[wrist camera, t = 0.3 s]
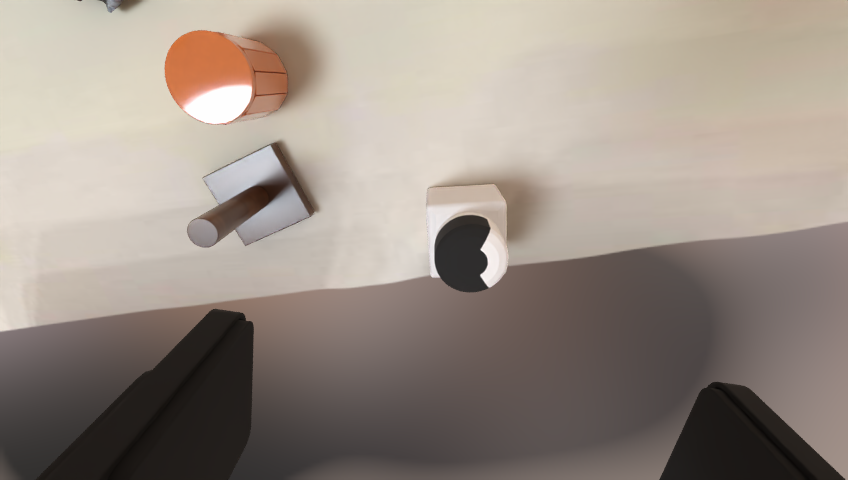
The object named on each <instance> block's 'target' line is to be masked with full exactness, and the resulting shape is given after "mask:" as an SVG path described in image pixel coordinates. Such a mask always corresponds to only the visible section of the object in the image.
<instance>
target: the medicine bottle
mask: <svg viewBox="0 0 848 480" xmlns="http://www.w3.org/2000/svg"><path fill="white" fill-rule="evenodd" d="M426 217H427V232H428V247H429V262H430V275H431V276H432V277H433V278H441V279H442V280H443V281H444V282H445V283H446V284H447V285H448V286H450V287H452V288H454V289H456V290H459V291H463V292H478V291H482V290H485V289H488V288H490V287H491V286H493V285H494V284H495V283H497V282H498V281H499V280H500V279H501V277H502V276H503V275H504V274H505V273H506V270H507V266H508V260H509V255H508V249H507V204H506V201H505V200H504V198H503V196H502V195H501V193H500V191H499V190H498V188H497V187H496V185H495V184H485V185H468V186H451V187H435V188H428V189H427V198H426Z"/></svg>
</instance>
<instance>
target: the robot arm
mask: <svg viewBox="0 0 848 480" xmlns="http://www.w3.org/2000/svg"><path fill="white" fill-rule="evenodd" d="M253 334H254V327H253V323H252V322H251V321H246V318H245V315H244V314H243V313H240V312H233V311H226V310H218V309H213V310H211V311H210V312H209V313H208V314H207V315H206V316H205V317H204V318H203V319H202V320H201V321H200V322H199V323H198V324H197V325H196V326H195V327H194V328H193V329H192V330H191V331H190V332H189V333H188V334H187V336H185V337H184V338H183V339H182V340H181V341H180V342H179V343H178V344H177V345H176V346H175V348H174V349H173V350H172V351H171V352H170V353H169V354H168V355H167V356H166V357H165V358H164V359H163V360H162V361H161V362H160V363H159V364H158V365H157V366H156V367H155V368H154V369H153V370H150V371H147V372H145V373H144V374H142V375H141V376H140V377H139V378H137V379H136V380H135V381H134V382H133V384H132V385H130V386H129V388H127V389H126V390H125V391H124V392H123V393H122V394H121V395H120V396H119V397H118V398H117V399H116V400H115V401H114V402H113V403H112V404H111V405H110V406H109V407H108V408H107V409H106V410H105V411H104V412H103V413H102V414H101V415H100V416H99V417H98V418H97V419H96V420H95V421H94V422H93V423H92V424H91V425H90V426H89V427H88V428H87V429H86V430H85V431H84V432H83V433H82V434H81V435H80V436H79V437H78V438H77V439H76V440H75V441H74V442H73V443H72V444H71V445H70V446H69V447H68V448H67V449H66V450H65V451H64V452H63V453H62V454H61V455H60V456H59V457H58V458H57V459H56V460H55V461H54V462H53V463H52V464H51V465H50V466H49V467H48V468H47V469H46V470H45V471H44V472H43V473H42V474H41V475H40V476H39V477H38V478H37V479H36V480H228V479H229V477H230V475H231V474H232V472H233V470H234V468H235V466H236V464H237V462H238V460H239V458H240V456H241V454H242V452H243V450H244V448H245V446H246V444H247V441H248V438H249V435H250V430H251V409H252V408H251V407H252V371H253V369H252V368H253ZM660 480H845V479H844V478H843V477H842V476H841V475H840V474H839V473H838V472H837V471H836V470H835V469H834V468H833V467H831V466H830V464H828V463H827V462H826V461H825V460H824V459H823V458H822V457H821V456H820V455H819V454H818V453H817V452H816V451H815V450H814V449H813V448H812V447H811V446H810V445H808V444H807V443H806V442H805V441H804V440H803V439H802V438H801V437H800V436H799V435H798V434H797V433H796V432H795V431H794V430H793V429H792V428H791V427H789V426H788V425H787V424H786V423H785V422H784V421H783V420H782V419H781V418H780V417H779V416H778V415H777V414H776V413H775V412H774V411H772V409H770V408H769V407H768V406H767V405H766V404H765V403H764V402H763V401H762V400H761V399H760V398H759V397H758V396H757V395H756V394H755V393H754V392H752V391H751V390H750V389H749V388H747V387H745V386H741V385H735V384H728V383H721V382H713V383H711V384H710V385H708V387H707V388H704V389H702V390H701V392H700V393H699V395H698V397H697V400H696V402H695V404H694V406H693V408H692V410H691V412H690V415H689V417H688V419H687V421H686V423H685V426H684V428H683V430H682V432H681V434H680V436H679V439H678V441H677V443H676V445H675V447H674V449H673V451H672V454H671V456H670V458H669V460H668V462H667V465H666V467H665V469H664V471H663V473H662V475H661V478H660Z"/></svg>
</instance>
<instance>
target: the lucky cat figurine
mask: <svg viewBox="0 0 848 480" xmlns="http://www.w3.org/2000/svg"><path fill="white" fill-rule="evenodd" d="M78 1H82V0H78ZM100 1H103V2H104V3H105V4H106V6H107V9H108V11H109V12H110V13H111V12H112V11H114V10H115V9H116V8H117V7H118V6H119V5H120V4H121V3H122V0H100Z"/></svg>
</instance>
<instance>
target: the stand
mask: <svg viewBox="0 0 848 480" xmlns="http://www.w3.org/2000/svg"><path fill="white" fill-rule="evenodd" d="M203 180H204V181H205V183H206V185H207V186H208V188H209V189H210V191H211V192H212V194H213V196H214V197H215V199H216V200H217V202H218V203H219V205H218V206H217V207H215V208H213V209H211V210H210V211H208V212H206V213H204V214H203V215H201V216H199V217H197V218H196V219H194V220H192V221H191V222H190V223H189V225H188V228H187V233H188V236H189V238H190V240H191V241H192V242H193V243H194V244H196V245H197V246H200V247H211V246H213V245H215V244H216V243H217V242H219V241H220V240H221V239H223V238H224V237H225V236H227V235H228V234H229V233H231V232H232V231H233V230H236V232H237V233H238V235H239V237H240V238H241V240H242V241H243V243H244V244H245V246H246V245H249V244H251V243H253V242H255V241H258V240H260V239H262V238H264V237H266V236H269V235H271V234H273V233H275V232H277V231H280V230H282V229H284V228H286V227H289V226H291V225H293V224H295V223H297V222H300V221H302V220H304V219H306V218H309V217H311V216H312V214H313V213H314V210H313V208H312V206H311V205H310V203H309V201H308V199H307V197H306V196H305V194H304V192H303V190H302V188H301V187H300V185H299V183H298V181H297V180H296V178H295V176H294V174H293V172H292V171H291V169H290V167H289V165H288V164H287V162H286V160H285V158H284V156H283V155H282V153H281V151H280V149H279V147H278V146H277V144H276V143H273V144H270V145H268V146H266V147H264V148H262V149H260V150H258V151H256V152H254V153H252V154H250V155H248V156H246V157H243V158H241V159H239V160H237V161H235V162H233V163H231V164H229V165H227V166H225V167H223V168H221V169H219V170H217V171H215V172H213V173H211V174H209V175H207V176H205V177H203Z"/></svg>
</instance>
